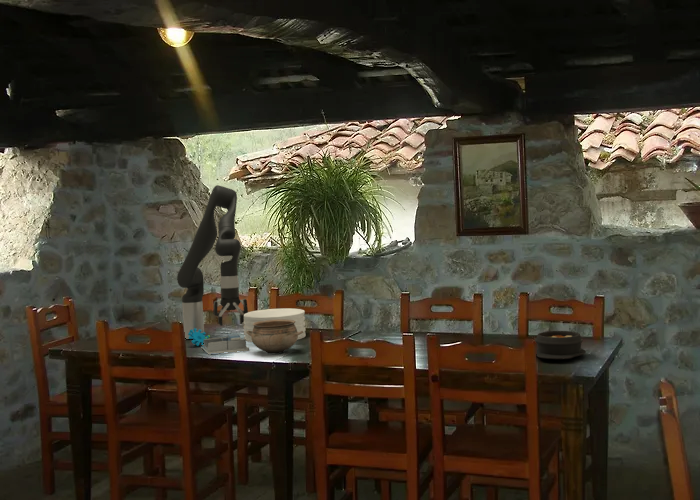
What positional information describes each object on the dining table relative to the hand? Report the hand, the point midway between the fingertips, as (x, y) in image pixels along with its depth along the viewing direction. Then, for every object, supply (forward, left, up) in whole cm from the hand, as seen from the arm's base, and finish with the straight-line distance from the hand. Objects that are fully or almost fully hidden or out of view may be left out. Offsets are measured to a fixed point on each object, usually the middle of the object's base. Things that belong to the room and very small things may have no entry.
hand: (231, 324), depth 326 cm
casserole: (+89, +100, -11) cm, 135 cm away
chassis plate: (0, -3, -11) cm, 11 cm away
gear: (-18, -10, -11) cm, 23 cm away
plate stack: (-18, +24, -11) cm, 32 cm away
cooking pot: (+18, +14, -11) cm, 25 cm away
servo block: (0, +1, -9) cm, 9 cm away
